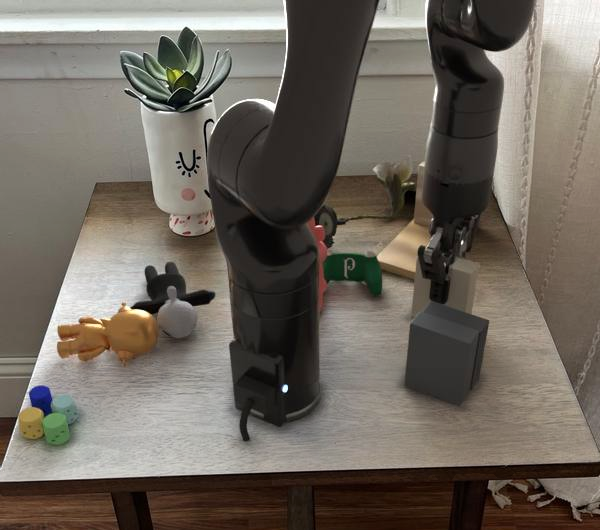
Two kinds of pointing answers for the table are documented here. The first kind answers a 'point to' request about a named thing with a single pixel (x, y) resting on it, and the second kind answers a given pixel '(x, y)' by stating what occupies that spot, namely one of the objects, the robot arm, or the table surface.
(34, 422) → the multicoloured cylinder cluster
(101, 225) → the table surface
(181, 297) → the figurine
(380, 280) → the gaming controller
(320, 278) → the figurine
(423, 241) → the book shelf
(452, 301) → the cream book
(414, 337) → the grey books
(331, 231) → the artificial flower
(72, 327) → the figurine
